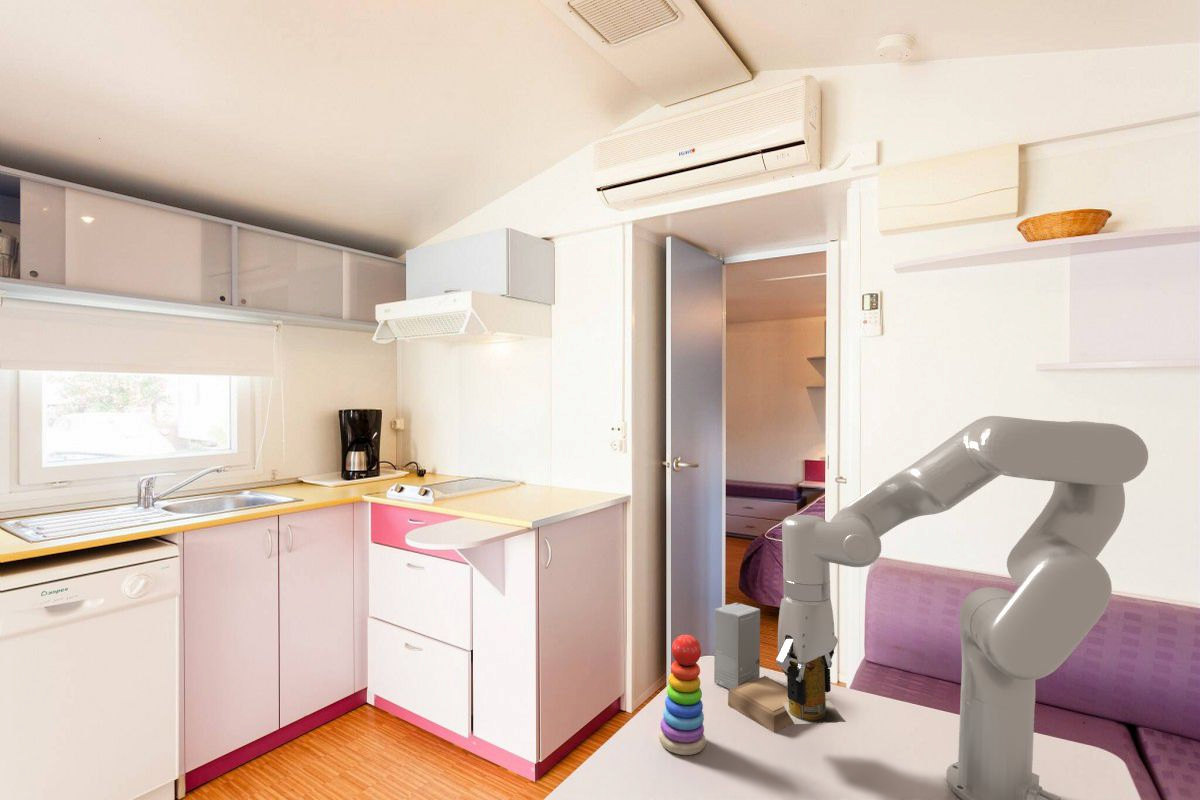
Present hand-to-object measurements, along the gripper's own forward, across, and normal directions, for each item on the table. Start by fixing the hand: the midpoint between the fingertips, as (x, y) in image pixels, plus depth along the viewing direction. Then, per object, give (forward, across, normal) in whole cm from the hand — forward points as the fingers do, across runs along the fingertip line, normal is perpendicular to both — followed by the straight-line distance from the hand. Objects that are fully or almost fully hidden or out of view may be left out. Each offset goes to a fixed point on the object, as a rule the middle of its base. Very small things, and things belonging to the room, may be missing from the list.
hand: (809, 694), depth 100 cm
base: (+10, -6, -14) cm, 18 cm away
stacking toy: (+9, +16, -14) cm, 24 cm away
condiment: (+3, -1, 0) cm, 4 cm away
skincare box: (+10, -9, -24) cm, 28 cm away
